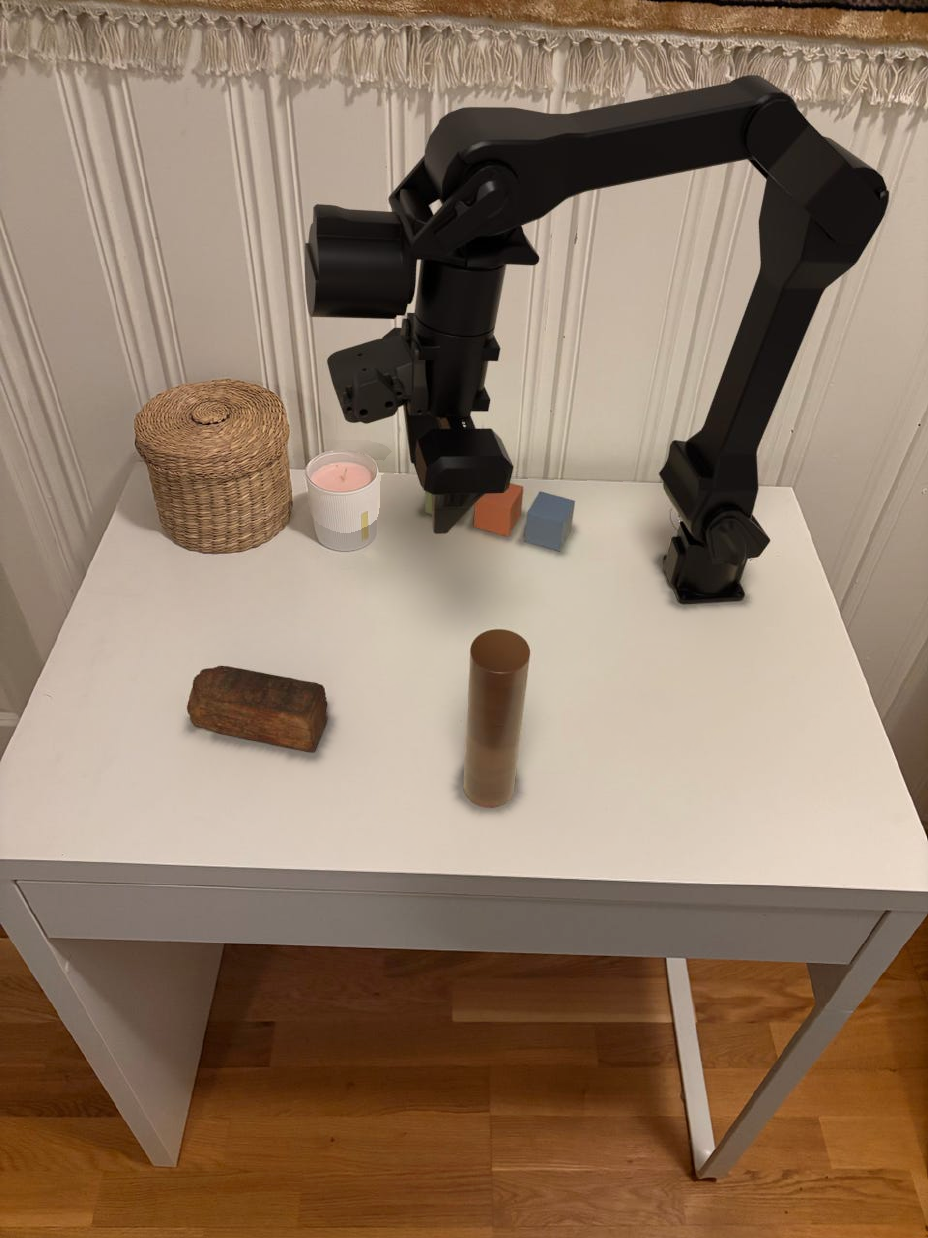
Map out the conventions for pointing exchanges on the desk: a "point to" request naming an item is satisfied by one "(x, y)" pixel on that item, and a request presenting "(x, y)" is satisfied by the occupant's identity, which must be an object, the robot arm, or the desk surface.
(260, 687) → the brick
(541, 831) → the desk surface
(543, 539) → the colored block line
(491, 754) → the walnut cylinder
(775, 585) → the desk surface
